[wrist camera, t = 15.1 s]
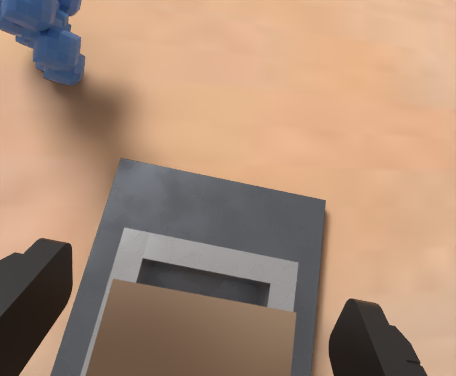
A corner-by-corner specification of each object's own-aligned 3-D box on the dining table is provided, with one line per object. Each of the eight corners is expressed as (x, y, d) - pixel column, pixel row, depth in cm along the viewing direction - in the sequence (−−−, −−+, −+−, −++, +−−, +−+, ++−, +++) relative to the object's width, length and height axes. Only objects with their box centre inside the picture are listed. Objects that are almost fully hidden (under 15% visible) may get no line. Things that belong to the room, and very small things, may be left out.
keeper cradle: (288, 563, 19) (319, 652, 14) (11, 515, 18) (-53, 590, 14) (321, 203, 26) (348, 182, 21) (123, 163, 26) (107, 132, 21)
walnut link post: (219, 378, 21) (273, 553, 6) (149, 365, 20) (45, 516, 6) (231, 303, 22) (296, 312, 8) (166, 291, 22) (113, 278, 8)
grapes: (142, 91, 28) (106, -51, 17) (70, 132, 26) (-25, 5, 15) (70, 3, 30) (-5, -174, 19) (-1, 36, 28) (-131, -139, 17)
